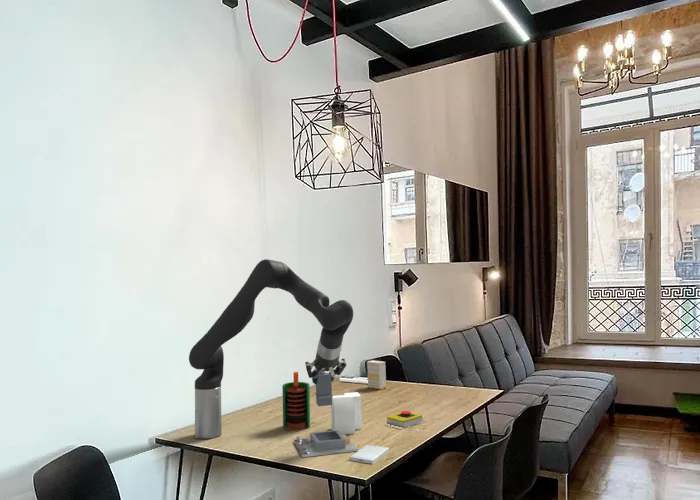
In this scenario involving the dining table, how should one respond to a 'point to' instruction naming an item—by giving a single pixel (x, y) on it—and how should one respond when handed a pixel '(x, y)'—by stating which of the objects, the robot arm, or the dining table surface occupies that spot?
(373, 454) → the hard drive
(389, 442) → the dining table surface
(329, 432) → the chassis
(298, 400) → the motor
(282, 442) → the dining table surface
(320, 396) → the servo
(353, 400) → the corner bracket
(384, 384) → the supplement box
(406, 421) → the emergency button
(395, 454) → the dining table surface
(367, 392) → the dining table surface
